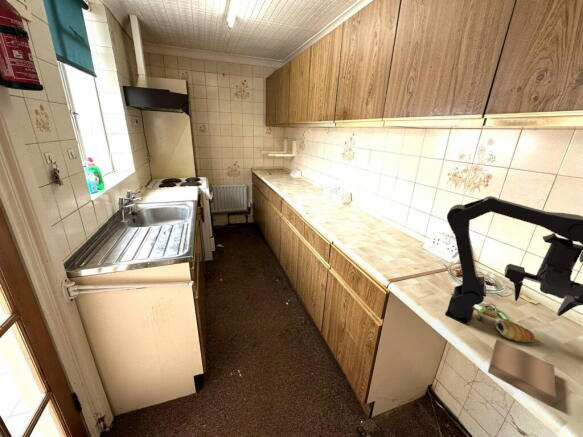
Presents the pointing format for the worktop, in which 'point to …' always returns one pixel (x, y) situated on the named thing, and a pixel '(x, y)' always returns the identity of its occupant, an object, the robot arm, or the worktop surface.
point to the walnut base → (523, 371)
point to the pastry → (514, 331)
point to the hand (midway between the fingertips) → (536, 307)
